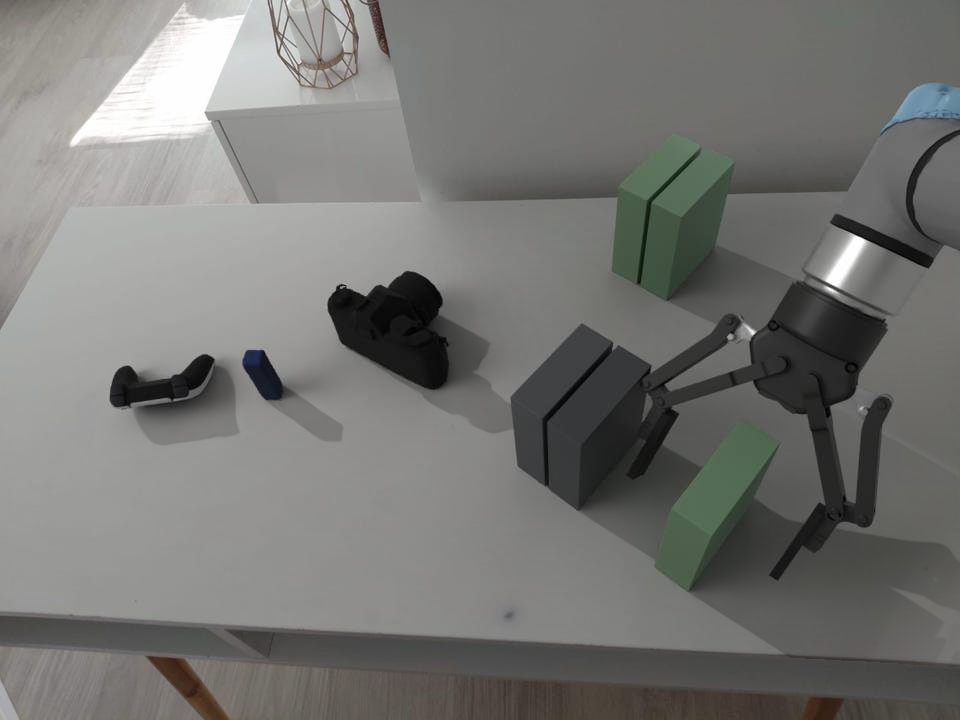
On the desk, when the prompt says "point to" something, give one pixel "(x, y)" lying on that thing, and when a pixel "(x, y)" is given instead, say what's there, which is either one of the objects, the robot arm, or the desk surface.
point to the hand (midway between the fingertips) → (702, 522)
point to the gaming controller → (160, 385)
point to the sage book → (714, 503)
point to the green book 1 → (645, 202)
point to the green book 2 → (685, 223)
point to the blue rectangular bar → (262, 374)
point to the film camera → (394, 327)
